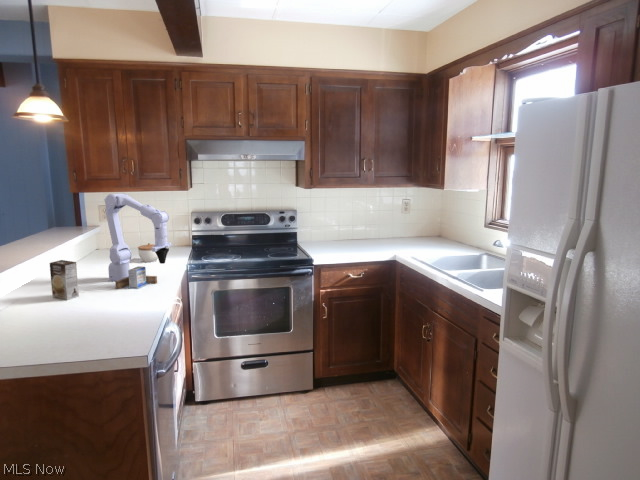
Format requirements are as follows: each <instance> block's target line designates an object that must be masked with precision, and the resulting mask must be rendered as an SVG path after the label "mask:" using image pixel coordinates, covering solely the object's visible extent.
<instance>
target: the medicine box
mask: <svg viewBox="0 0 640 480" xmlns="http://www.w3.org/2000/svg"><path fill="white" fill-rule="evenodd" d="M129 269H130V268H129ZM146 270H147V269H146V266H143V265H142V266H136V267H134V268H131V269H130V270H128V274H129V285H128V286H129V287H137V288H138V287H140V286H142V285H144V284H146V276H147V271H146Z"/></svg>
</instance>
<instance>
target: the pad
mask: <svg viewBox="0 0 640 480" xmlns="http://www.w3.org/2000/svg"><path fill="white" fill-rule="evenodd" d="M149 284H151V283H146V284H144V285H142V286H140V287H138V288H137V287H129V285H127V286H125V288H124V289H133V290H134V289H135V290H138V289H142V288H143V287H145V286H148V285H149Z"/></svg>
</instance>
